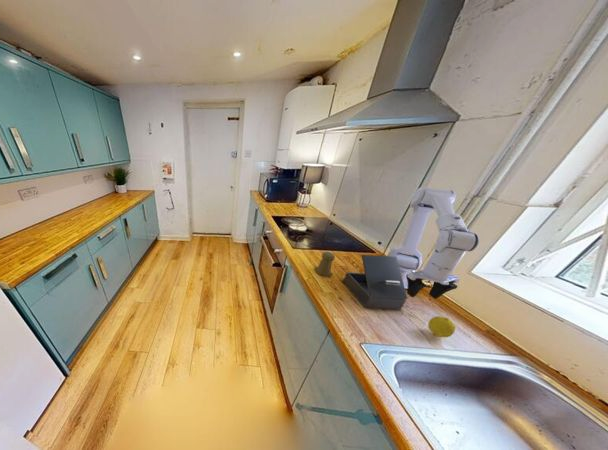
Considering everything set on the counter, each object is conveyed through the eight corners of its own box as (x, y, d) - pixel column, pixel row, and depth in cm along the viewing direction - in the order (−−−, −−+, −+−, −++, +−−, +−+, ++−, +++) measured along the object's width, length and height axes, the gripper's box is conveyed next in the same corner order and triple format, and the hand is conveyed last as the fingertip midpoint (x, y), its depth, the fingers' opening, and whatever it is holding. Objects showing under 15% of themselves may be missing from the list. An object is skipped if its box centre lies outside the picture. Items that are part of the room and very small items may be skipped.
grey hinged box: (343, 281, 92) (346, 272, 89) (372, 283, 91) (377, 274, 89) (365, 307, 78) (370, 297, 75) (400, 310, 77) (406, 299, 75)
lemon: (450, 345, 64) (463, 328, 61) (426, 337, 67) (438, 320, 63) (443, 332, 68) (455, 316, 65) (421, 325, 71) (432, 308, 68)
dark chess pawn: (331, 276, 94) (338, 257, 90) (318, 275, 95) (324, 255, 91) (327, 269, 100) (333, 250, 95) (314, 267, 101) (320, 249, 96)
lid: (361, 255, 81) (368, 253, 77) (395, 257, 80) (404, 255, 77) (369, 296, 76) (378, 296, 72) (405, 299, 75) (416, 299, 71)
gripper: (429, 270, 61) (409, 303, 67) (479, 273, 60) (455, 306, 66) (410, 257, 67) (393, 288, 73) (454, 260, 67) (434, 291, 72)
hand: (421, 295), depth 70 cm, fingers open, 7 cm apart
